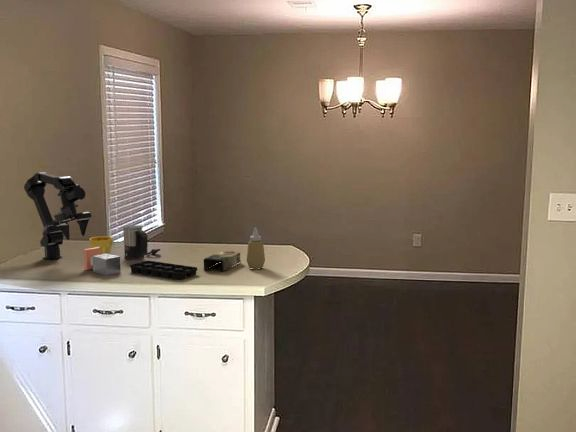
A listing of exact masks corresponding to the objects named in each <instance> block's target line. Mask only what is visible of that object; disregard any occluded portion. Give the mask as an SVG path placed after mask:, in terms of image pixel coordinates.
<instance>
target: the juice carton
mask: <svg viewBox="0 0 576 432" xmlns="http://www.w3.org/2000/svg"><path fill="white" fill-rule="evenodd" d="M219 262H221V263H220V266H219V268H218V271H219V272H221V271H223V272H224V271H228V270H227V269H229V268H231V267H232V266H234V265H236V264H237V263H239V262H240V263H241V252H239V251H231V250H230V251H220V252H217V253H214V254H212V255H210V256H207V257H205V258H204V259H203V271H204V270H205V269H207V268H209V267H211V266H213V265H215V264H216V263H219ZM236 266H237V265H236ZM213 267H214V266H213ZM234 267H235V266H234ZM211 268H212V267H211ZM209 269H210V268H209ZM231 269H232V268H231ZM207 270H208V269H207ZM229 270H230V269H229ZM205 271H206V270H205Z"/></svg>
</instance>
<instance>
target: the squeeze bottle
mask: <svg viewBox="0 0 576 432" xmlns="http://www.w3.org/2000/svg"><path fill="white" fill-rule="evenodd" d="M249 238H250V239H249V241H248V242H247V252H246V263H247V266H248V269H249V268H253V269H257V268H262V267H263V268H264V265H265V262H266V257H265V247H264V242H263V240H262V236H261V235H259V232H258V228H257V227H254V228H253V232H252V235H250V237H249ZM263 268H262V269H263Z"/></svg>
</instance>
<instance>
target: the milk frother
mask: <svg viewBox="0 0 576 432" xmlns="http://www.w3.org/2000/svg"><path fill="white" fill-rule="evenodd" d="M122 230H123V245H124V248H123V249H124V256H123V257H124V259H126V260H138V259H139V260H140V259H143V258H145V256H148V255H150V254H152V255H153V256H154V255H157V253H158V252H161V248H157V249H156V248H152V249H151V250H150V251H149V252H148V245H149V244H148V239H149V237H148V235H147V231H144V230H143V225H139V224H138V225H126V226H125V225H124V226H123V227H122Z"/></svg>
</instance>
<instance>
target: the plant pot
mask: <svg viewBox="0 0 576 432" xmlns="http://www.w3.org/2000/svg"><path fill="white" fill-rule="evenodd" d="M113 240H114V239H113V237H111V236H104V235H103V236H92V237H90V238H89V246H90V247H91V248H95V247H100V253H101V254H106V253H107V254H111V249H112V246H113Z"/></svg>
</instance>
